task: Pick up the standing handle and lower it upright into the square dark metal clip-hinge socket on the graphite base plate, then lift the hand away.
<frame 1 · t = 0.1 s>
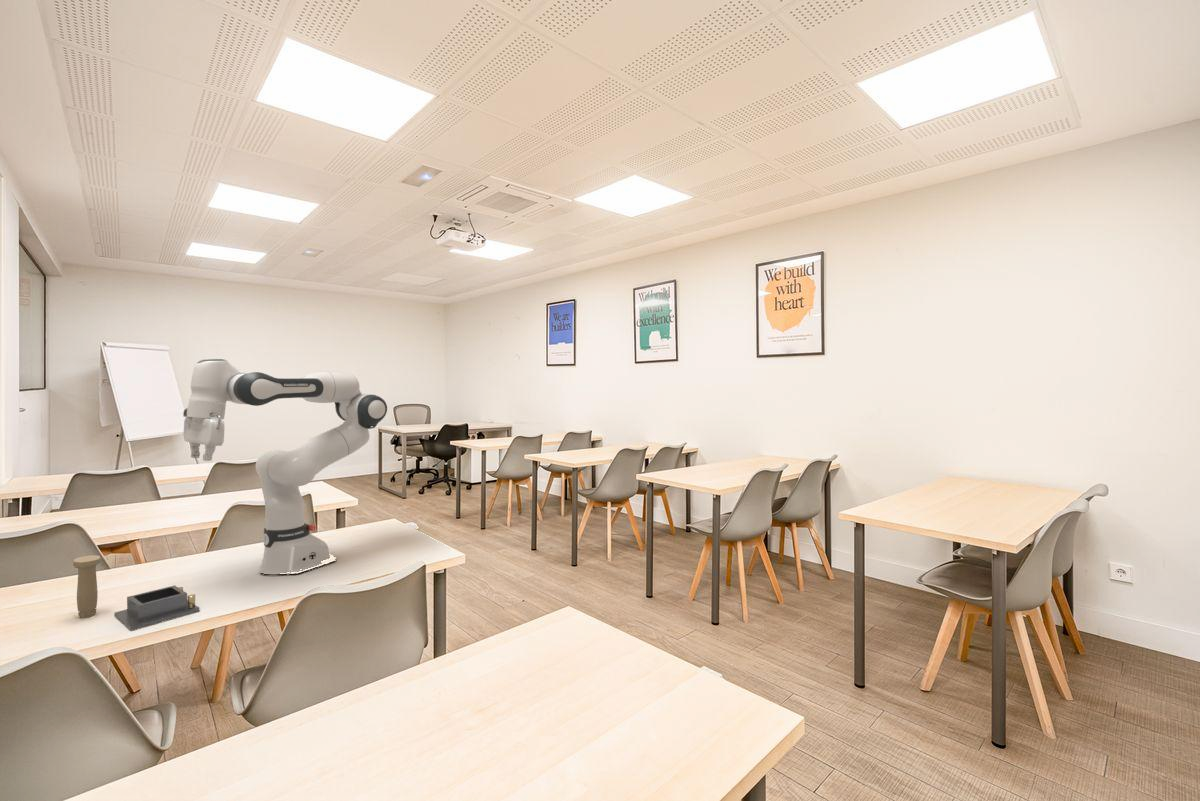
hand: (200, 459, 152), 39 cm above the table, tool pointing down, fingers open, 8 cm apart
handle: (87, 616, 135), on the table
clip socket: (157, 613, 137), on the table
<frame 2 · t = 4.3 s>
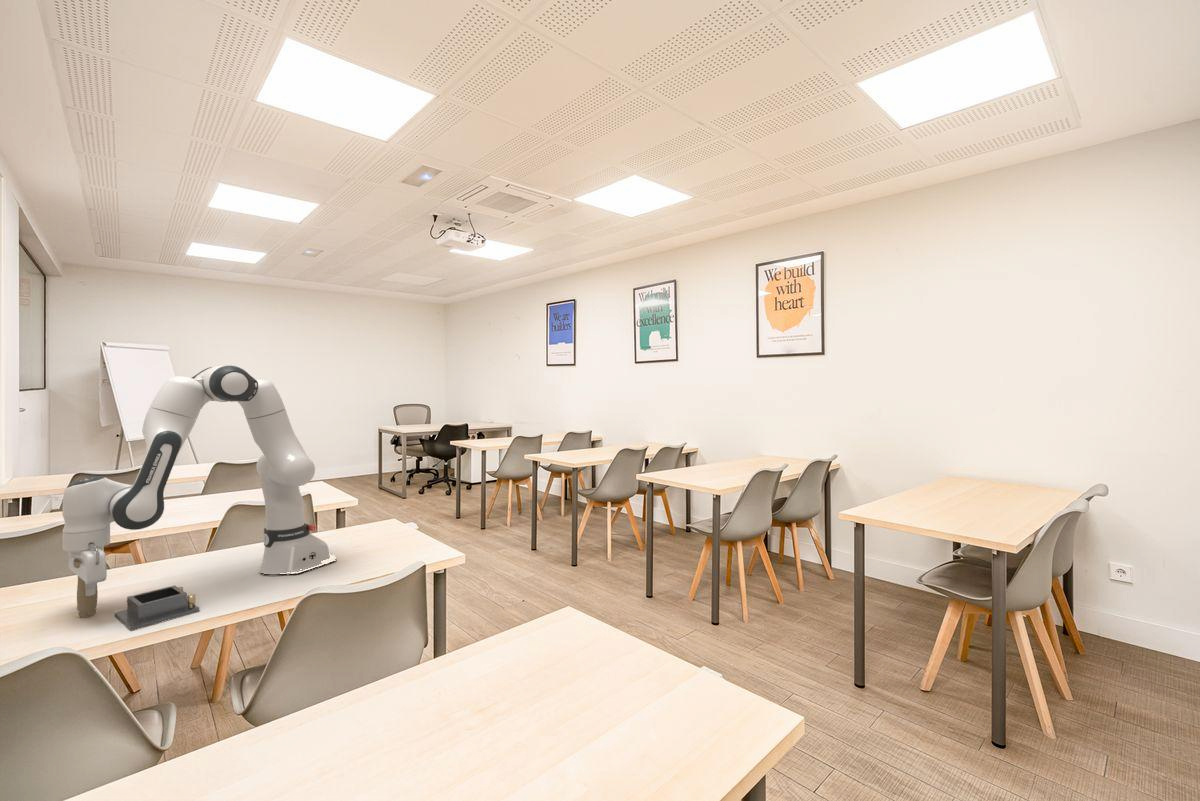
hand: (87, 592, 135), 6 cm above the table, tool pointing down, fingers closed on handle, 4 cm apart
handle: (87, 616, 135), on the table, touching gripper
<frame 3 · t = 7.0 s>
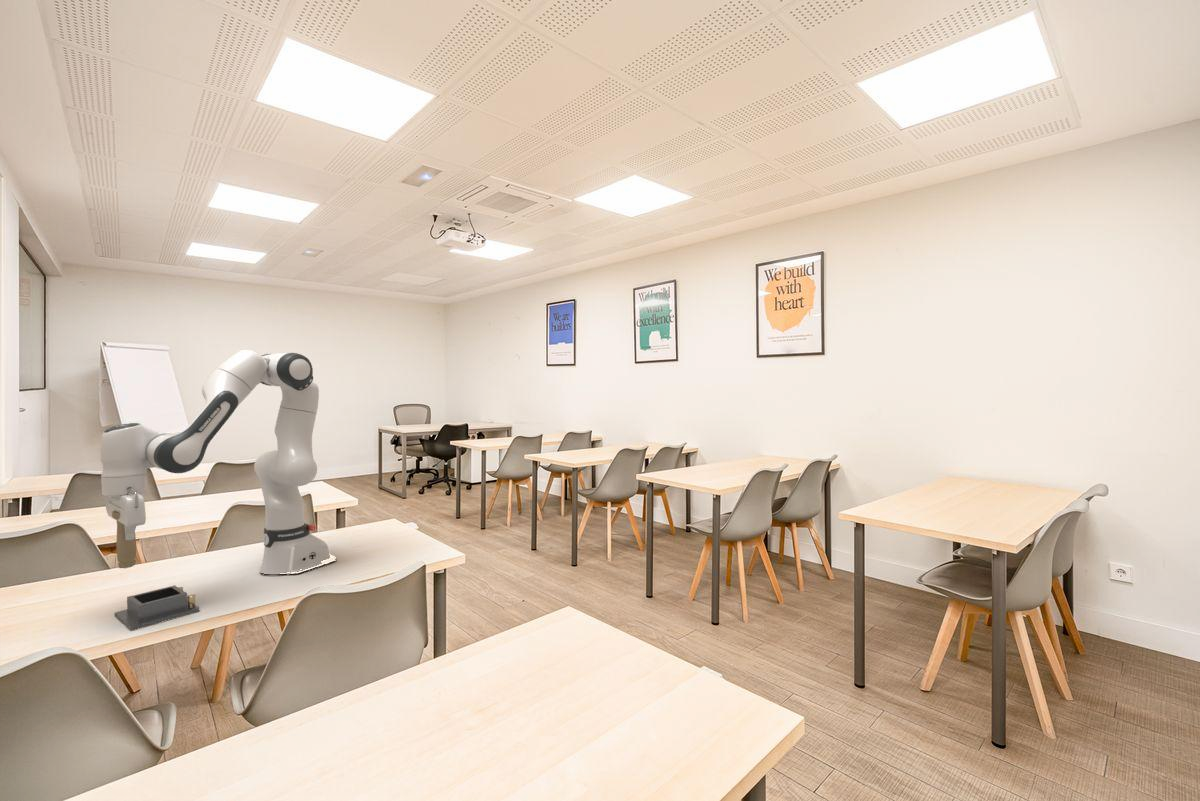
hand: (126, 537, 136), 20 cm above the table, tool pointing down, fingers closed on handle, 4 cm apart
handle: (127, 567, 136), point 12 cm above the table, touching gripper
when the fingers open (9 cm above the table, at t = 9.9 s): handle stays where it is, resting on clip socket.
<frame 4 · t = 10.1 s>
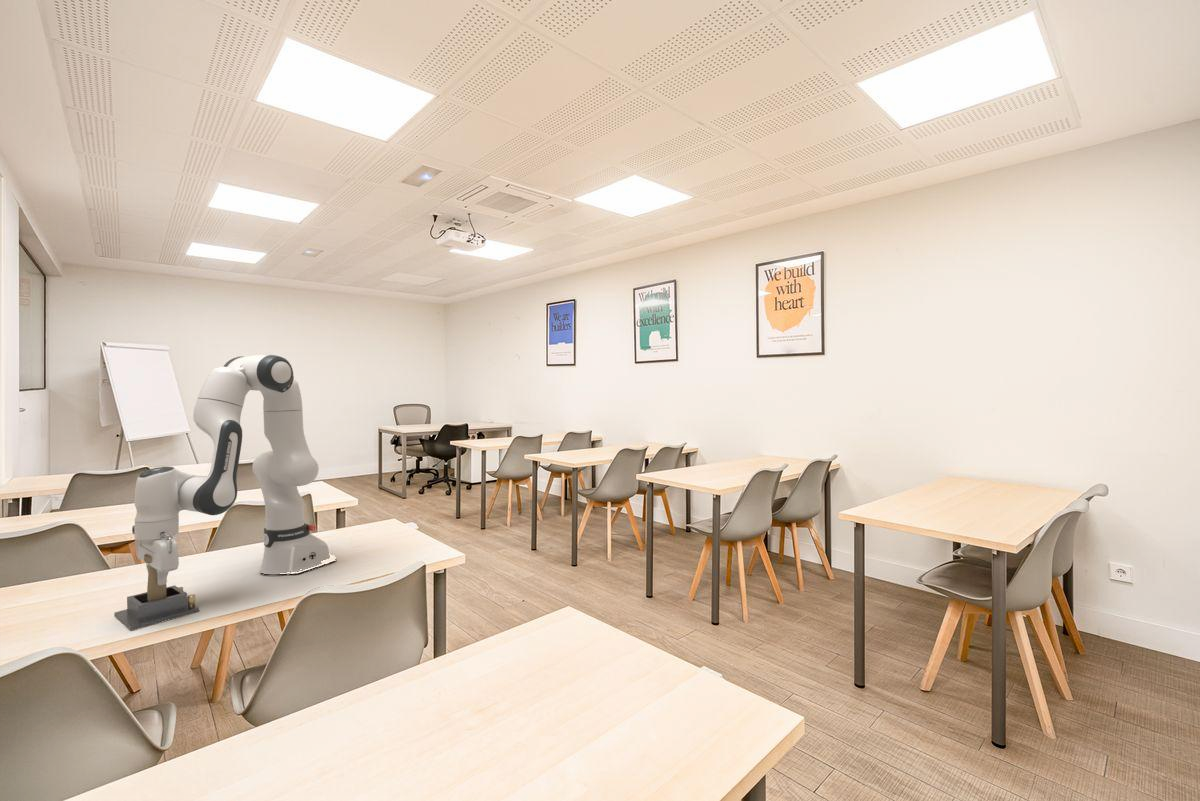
hand: (157, 581, 137), 9 cm above the table, tool pointing down, fingers open, 5 cm apart
handle: (157, 611, 136), point 1 cm above the table, touching clip socket
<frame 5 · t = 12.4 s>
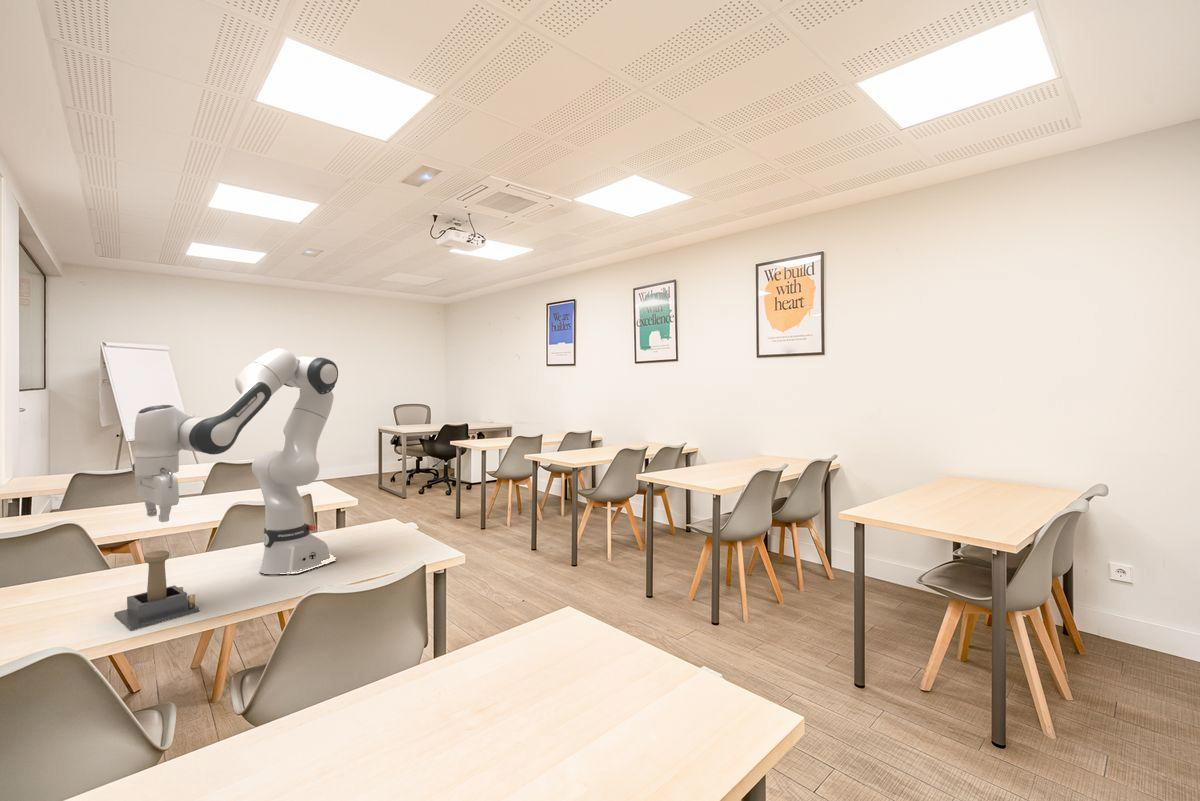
hand: (157, 518, 137), 25 cm above the table, tool pointing down, fingers open, 8 cm apart
nothing on the table moved.
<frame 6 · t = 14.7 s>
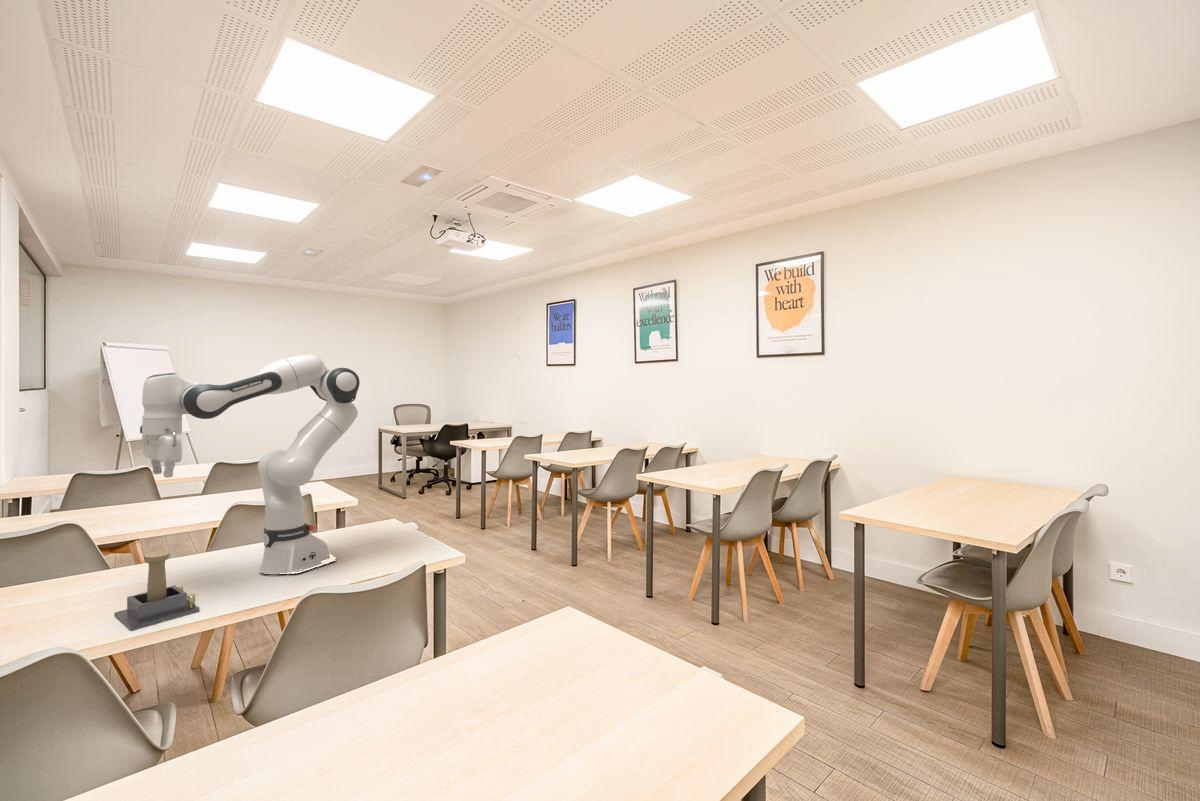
hand: (162, 475, 151), 34 cm above the table, tool pointing down, fingers open, 8 cm apart
nothing on the table moved.
at the end: handle 0.1 cm off-centre on the clip socket, point 0.8 cm above the clip socket's base; handle tilted 0°; the gripper is holding nothing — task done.
